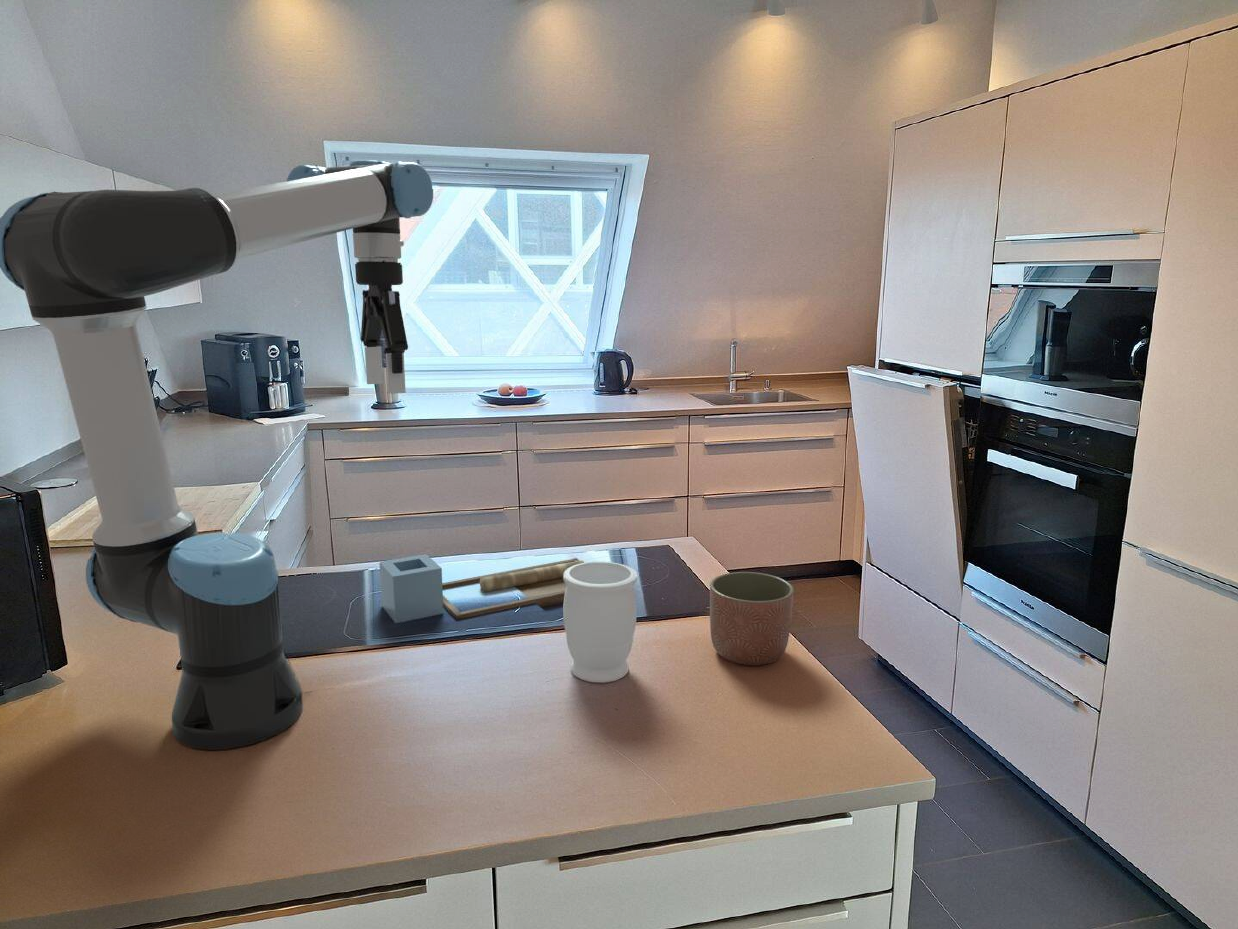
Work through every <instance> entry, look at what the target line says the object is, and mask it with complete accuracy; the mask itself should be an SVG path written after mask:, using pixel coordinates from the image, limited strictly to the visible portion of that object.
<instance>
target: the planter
mask: <svg viewBox="0 0 1238 929" xmlns="http://www.w3.org/2000/svg"><path fill="white" fill-rule="evenodd" d="M794 589H795V588H794V587H793V585H792V584H791V583H790V582H788V581H787V580H785V579H783V578H781V577H779V576H776V575H771V574H769V573H762V572H754V571H753V572H752V571H738V572H737V571H736V572H734V571H733V572H729V573H724V574H720V575H718V576H715V577H714V578H713V579H712V580H711V581H710V583H709V623H710V624H709V625H710V626H709V628H710V637H711V642H712V645H713V648H714V649H715V651H716V652H717V654H719V655H720V656H721V657H722V658H724V659H726V660H728V661H729V662H733V663H737V664H740V665H745V666H747V665H748V666H762V665H766V664H770V663H774V662H775V661H777V660H778V659H780V658H781V657H783V655H784V653H785V652H786V649H787V646H788V643H789V638H790V632H791V631H790V630H791V625H792V624H791V623H792V614H793V604H794V593H795V592H794V591H795V590H794Z"/></svg>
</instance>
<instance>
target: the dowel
mask: <svg viewBox="0 0 1238 929" xmlns="http://www.w3.org/2000/svg"><path fill="white" fill-rule="evenodd" d="M579 560H580V559H579ZM580 563H585V561H584V560H582V559H581V560H580V561H574V562H568V563H563V564H557V565H552V566H546V567H540V568H535V569H529V570H524V571H518V572H513V573H507V574H501V575H496V576H490V577H485V578H481V579H480V582H479V587H480V590H481V591H482V592H483V593H487V592H493V591H497V590H503V589H507V588H508V589H509V588H513V587H514V588H515V587H516V586H522V585H527V584H532V583H537V582H543V581H548V580H553V579H559V578H563V575H564V571H565V570H566V569H567V568H569V567H571V566H573V565H576V564H580Z"/></svg>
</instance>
